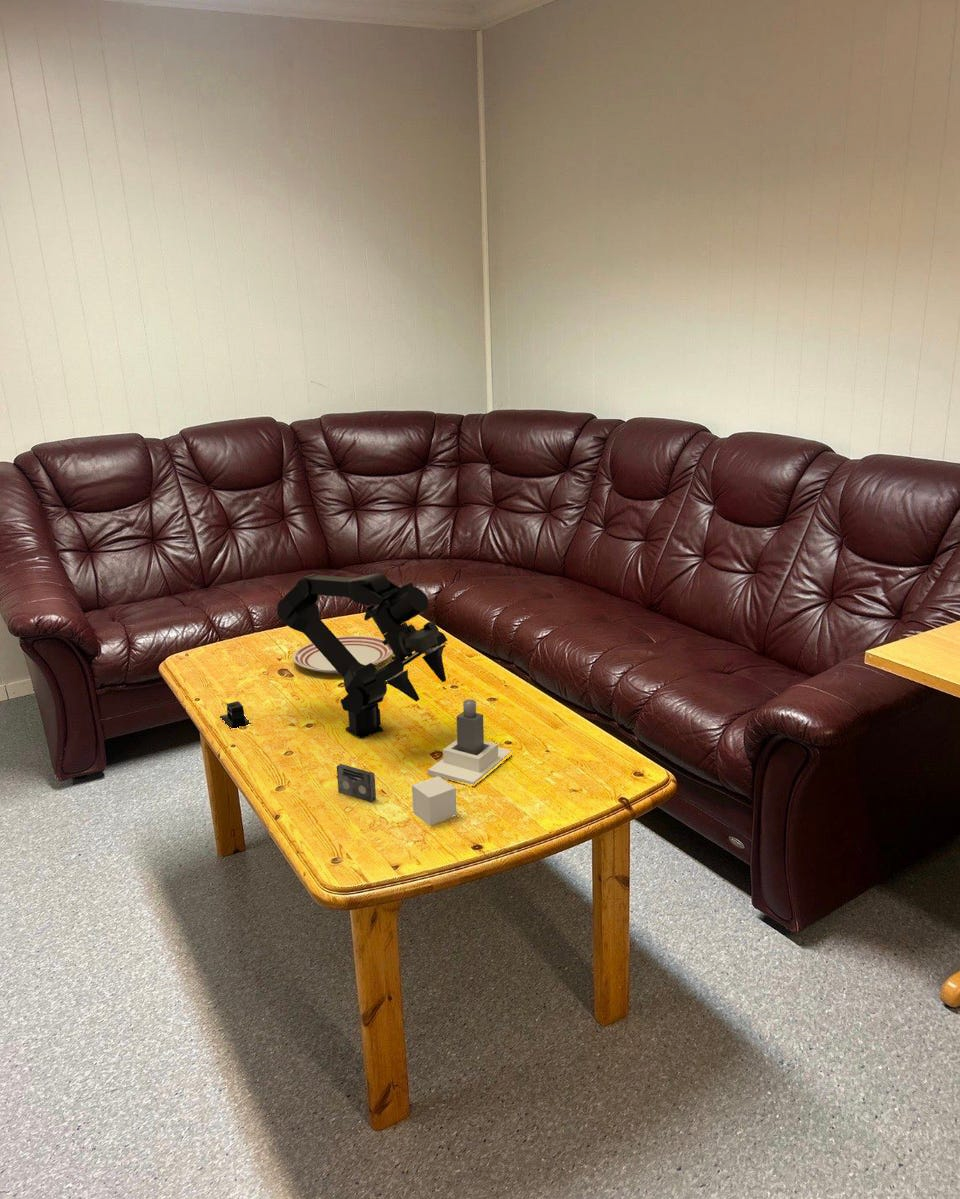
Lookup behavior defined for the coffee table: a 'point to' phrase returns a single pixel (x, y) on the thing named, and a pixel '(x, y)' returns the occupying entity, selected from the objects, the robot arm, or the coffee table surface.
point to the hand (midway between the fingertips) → (431, 690)
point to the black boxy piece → (235, 715)
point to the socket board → (467, 763)
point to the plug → (470, 729)
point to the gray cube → (434, 800)
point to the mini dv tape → (356, 783)
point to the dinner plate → (358, 646)
